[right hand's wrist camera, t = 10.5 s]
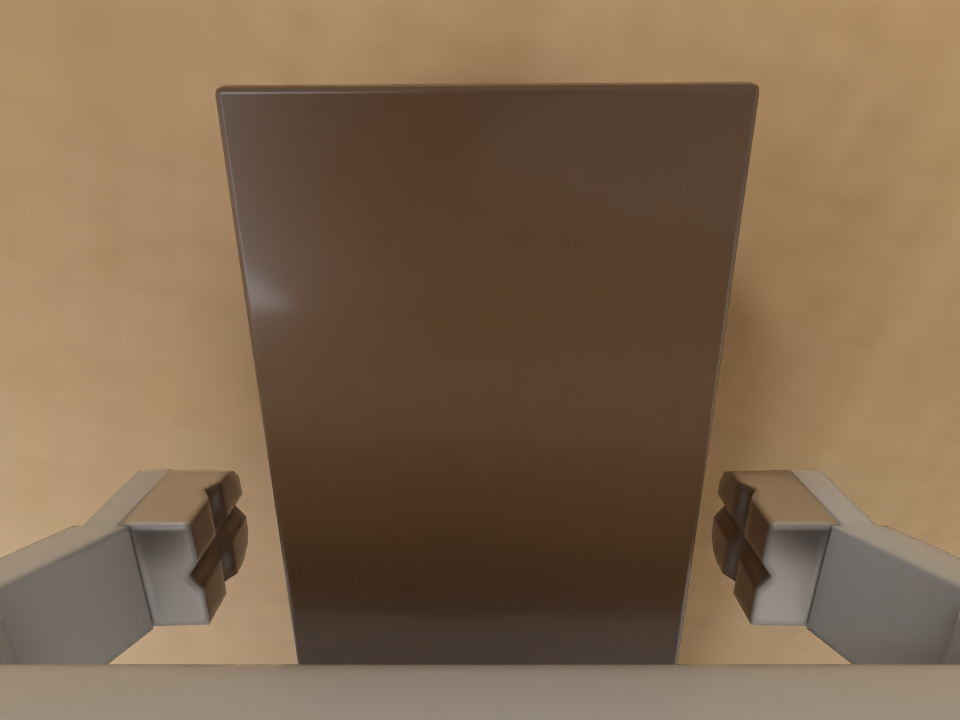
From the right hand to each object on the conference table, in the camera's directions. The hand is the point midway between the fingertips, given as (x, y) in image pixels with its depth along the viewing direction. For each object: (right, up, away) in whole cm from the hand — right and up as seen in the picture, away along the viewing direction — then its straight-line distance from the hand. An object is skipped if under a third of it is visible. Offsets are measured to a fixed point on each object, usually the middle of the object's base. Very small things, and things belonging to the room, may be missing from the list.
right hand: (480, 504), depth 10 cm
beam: (0, -17, +11) cm, 21 cm away
